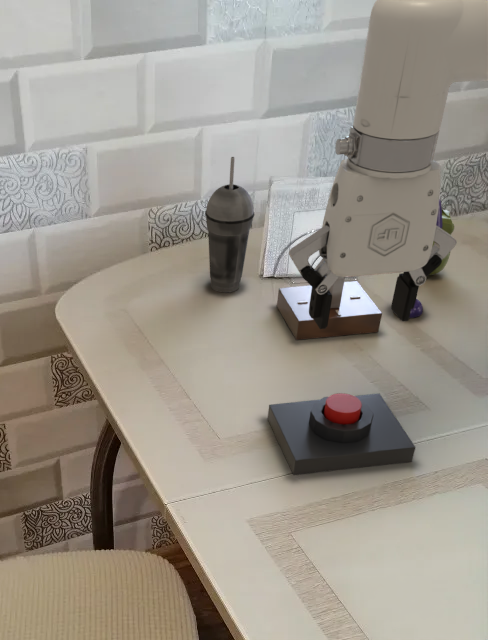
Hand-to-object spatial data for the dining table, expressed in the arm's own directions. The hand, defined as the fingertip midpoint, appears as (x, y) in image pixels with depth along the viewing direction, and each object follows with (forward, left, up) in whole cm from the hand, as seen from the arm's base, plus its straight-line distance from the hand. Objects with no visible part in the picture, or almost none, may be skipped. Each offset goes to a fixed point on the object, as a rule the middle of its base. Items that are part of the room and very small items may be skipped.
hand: (359, 318), depth 84 cm
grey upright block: (-8, -28, -13) cm, 32 cm away
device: (0, 0, -16) cm, 16 cm away
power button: (0, 0, -13) cm, 13 cm away
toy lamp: (-20, -28, -16) cm, 38 cm away
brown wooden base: (-8, -28, -16) cm, 33 cm away
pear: (-28, -39, -16) cm, 51 cm away
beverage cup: (+4, -41, -16) cm, 44 cm away
